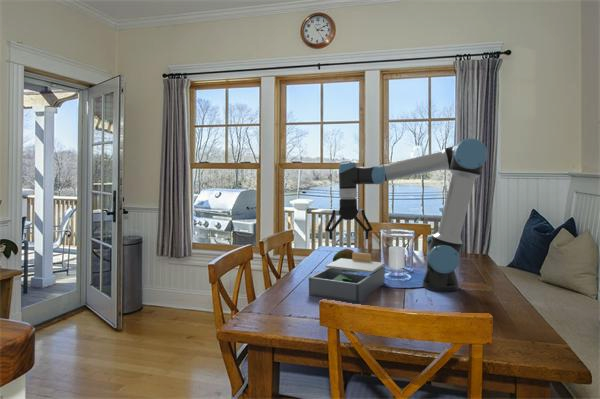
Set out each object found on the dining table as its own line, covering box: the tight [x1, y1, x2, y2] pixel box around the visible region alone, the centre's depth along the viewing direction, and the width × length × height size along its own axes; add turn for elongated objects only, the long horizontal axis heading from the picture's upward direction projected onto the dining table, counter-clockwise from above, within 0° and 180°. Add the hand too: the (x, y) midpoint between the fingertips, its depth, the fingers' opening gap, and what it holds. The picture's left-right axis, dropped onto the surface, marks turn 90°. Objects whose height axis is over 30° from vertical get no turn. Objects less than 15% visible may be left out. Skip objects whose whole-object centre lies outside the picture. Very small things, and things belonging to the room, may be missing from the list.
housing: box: [308, 266, 386, 304], centre depth 173 cm, size 22×33×8 cm, turn 150°
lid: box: [325, 251, 385, 274], centre depth 179 cm, size 22×17×4 cm
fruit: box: [332, 248, 355, 262], centre depth 211 cm, size 12×13×10 cm
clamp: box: [333, 274, 352, 283], centre depth 166 cm, size 12×6×9 cm, turn 150°
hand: (349, 247), depth 171 cm, fingers open, 13 cm apart
